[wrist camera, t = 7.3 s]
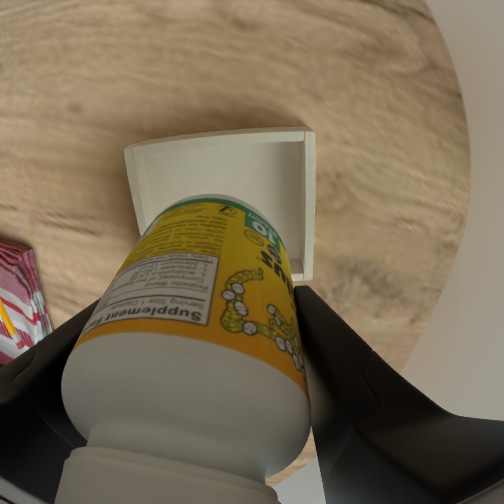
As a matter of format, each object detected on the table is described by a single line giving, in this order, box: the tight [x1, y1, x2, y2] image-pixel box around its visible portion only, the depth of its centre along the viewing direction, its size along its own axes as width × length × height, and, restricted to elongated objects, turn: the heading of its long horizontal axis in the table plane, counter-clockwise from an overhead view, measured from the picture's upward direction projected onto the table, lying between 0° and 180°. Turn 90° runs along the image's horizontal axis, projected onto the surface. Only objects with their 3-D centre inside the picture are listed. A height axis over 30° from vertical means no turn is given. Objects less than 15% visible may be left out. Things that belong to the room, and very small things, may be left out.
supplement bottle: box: [54, 194, 311, 504], centre depth 7 cm, size 5×5×10 cm
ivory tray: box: [123, 126, 315, 281], centre depth 15 cm, size 9×8×2 cm
